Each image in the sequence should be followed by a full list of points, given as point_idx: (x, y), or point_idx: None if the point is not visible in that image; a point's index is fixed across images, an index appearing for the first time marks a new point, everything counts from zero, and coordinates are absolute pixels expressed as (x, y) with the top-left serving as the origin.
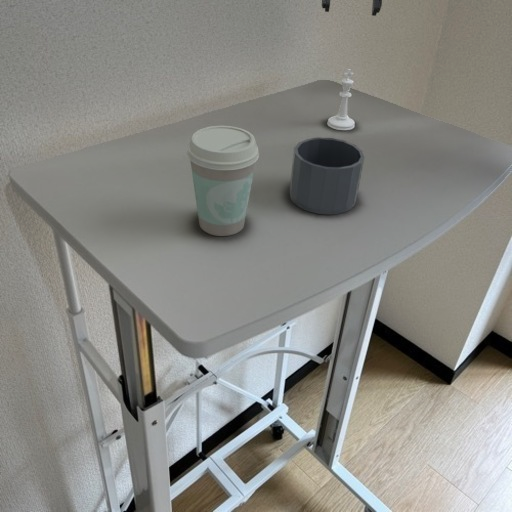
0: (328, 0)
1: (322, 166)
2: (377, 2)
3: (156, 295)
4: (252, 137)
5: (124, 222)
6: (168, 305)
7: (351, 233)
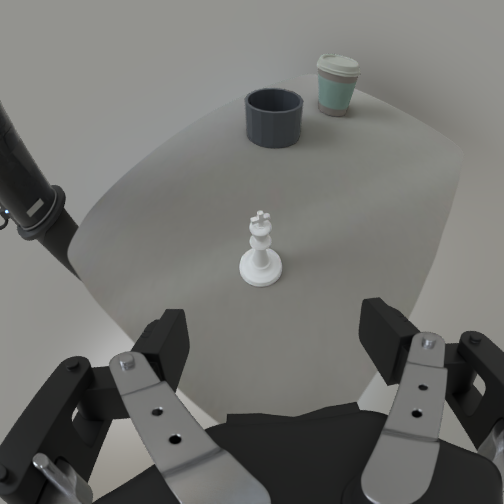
0: (378, 303)
1: (277, 88)
2: (163, 320)
3: None
4: (324, 59)
5: (381, 111)
6: None
7: None
